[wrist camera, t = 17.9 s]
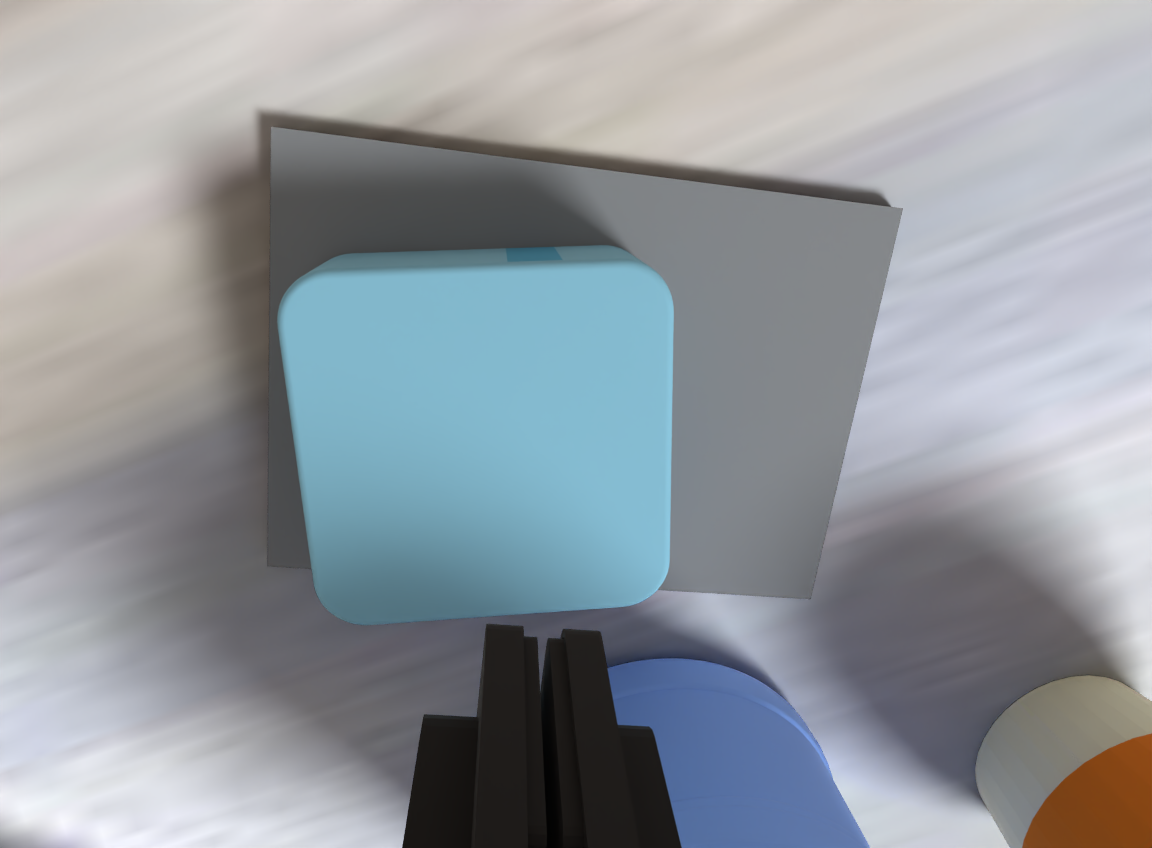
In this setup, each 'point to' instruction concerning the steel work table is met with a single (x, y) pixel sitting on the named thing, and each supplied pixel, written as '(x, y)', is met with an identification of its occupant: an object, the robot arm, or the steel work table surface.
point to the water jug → (733, 758)
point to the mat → (700, 337)
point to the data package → (481, 430)
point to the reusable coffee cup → (1071, 767)
